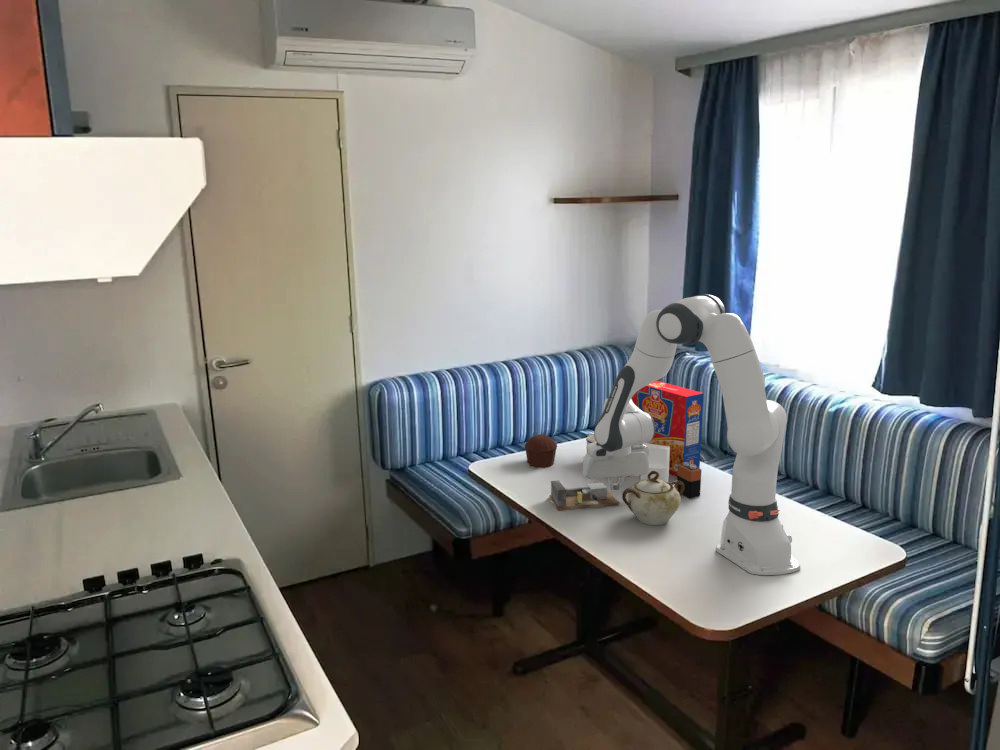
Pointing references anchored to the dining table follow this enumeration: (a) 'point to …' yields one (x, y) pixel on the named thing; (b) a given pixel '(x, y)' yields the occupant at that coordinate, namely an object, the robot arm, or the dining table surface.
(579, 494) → the telltale marker
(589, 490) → the gauge plunger
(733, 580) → the dining table surface
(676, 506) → the sugar bowl
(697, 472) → the battery
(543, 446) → the muffin
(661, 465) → the base with upright slab
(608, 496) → the bench
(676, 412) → the pasta box
